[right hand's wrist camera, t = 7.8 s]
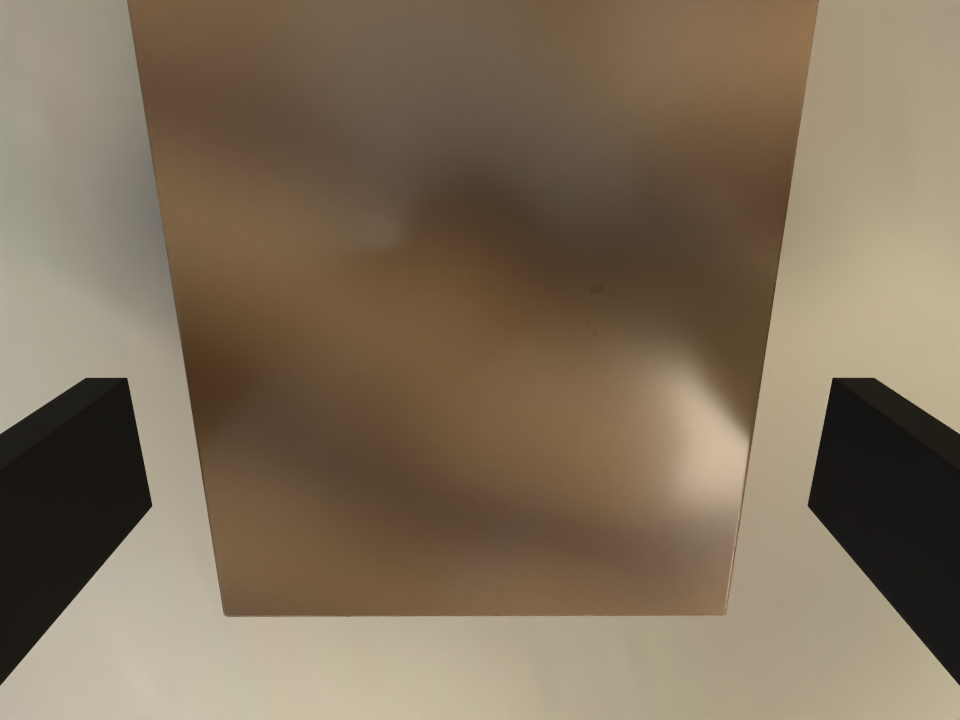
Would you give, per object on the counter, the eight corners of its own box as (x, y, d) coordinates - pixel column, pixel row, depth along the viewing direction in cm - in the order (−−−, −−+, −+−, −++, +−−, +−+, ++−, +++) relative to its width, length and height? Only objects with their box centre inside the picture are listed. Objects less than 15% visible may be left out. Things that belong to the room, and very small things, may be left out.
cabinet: (251, -259, 16) (20, -655, 8) (696, -258, 16) (919, -650, 8) (315, 439, 22) (222, 618, 14) (636, 439, 22) (727, 617, 14)
